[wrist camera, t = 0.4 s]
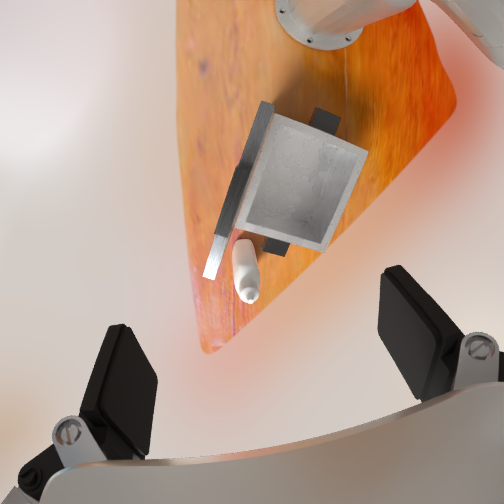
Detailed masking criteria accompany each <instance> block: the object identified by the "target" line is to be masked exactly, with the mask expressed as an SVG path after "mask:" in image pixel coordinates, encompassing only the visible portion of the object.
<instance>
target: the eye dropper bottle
mask: <svg viewBox="0 0 504 504" xmlns="http://www.w3.org/2000/svg"><path fill="white" fill-rule="evenodd" d="M232 259H233V272H234V283H235V288H236V291H237V293H238V294H239V296H240V298H241V300H242V301H244V302H247V303H248V304H252V303H253V302H254V301H255V300H257V299H258V297H259V286H260V273H259V268H258V263H257V258H256V254H255V249H254V246H253V243H252V241H251V240H249V239H240V240H237V241H236V242H235V244H234V247H233V253H232Z"/></svg>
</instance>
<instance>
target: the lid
mask: <svg viewBox="0 0 504 504" xmlns="http://www.w3.org/2000/svg"><path fill="white" fill-rule="evenodd" d="M274 113H275V105H273V104H270V103H267V102H264V101H261V103H260V106H259V109H258V112H257V114H256V117H255V120H254V123H253V126H252V128H251V131H250V134H249V137H248V140H247V142H246V145H245V148H244V151H243V154H242V157H241V160H240V163H239V164H238V165H237V166H236V168H235V171H234V174H233V177H232V180H231V183H230V186H229V189H228V192H227V195H226V198H225V201H224V204H223V208H222V211H221V214H220V217H219V220H218V223H217V226H216V229H215V232H214V234H216V235H215V238H214V241H213V245H212V248H211V251H210V254H209V257H208V261H207V264H206V267H205V270H204V274H203V276H204V277H207V278H210V279H212V280H214V279H215V276H216V274H217V271H218V268H219V266H220V263H221V260H222V257H223V255H224V252H225V249H226V247H227V244H228V241H229V239H230V236H231V234H232V231H233V228H234V225H235V222H236V220H237V217H238V214H239V211H240V208H241V205H242V202H243V199H244V196H245V194H246V191H247V188H248V185H249V182H250V179H251V177H252V174H253V171H254V168H255V165H256V163H257V160H258V157H259V154H260V151H261V149H262V146H263V143H264V140H265V138H266V135H267V132H268V129H269V127H270V124H271V121H272V119H273V116H274Z"/></svg>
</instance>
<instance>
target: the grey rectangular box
mask: <svg viewBox="0 0 504 504" xmlns="http://www.w3.org/2000/svg"><path fill="white" fill-rule="evenodd" d="M340 120H341V118H340V117H338V116H336V115H333V114H331V113H329V112H326V111H324V110H322V109H319V108H315V110H314V112H313V115H312V117H311V120H310V123H309V125H306V124H303V123H300V122H298V121H295V120H292V119H290V118H287V117H284V116H282V115H279V114H276V113H274V116H273V119H272V121H271V124H270V127H269V129H268V132H267V135H266V138H265V140H264V143H263V146H262V149H261V151H260V154H259V157H258V160H257V163H256V165H255V168H254V171H253V174H252V177H251V179H250V182H249V185H248V188H247V191H246V194H245V196H244V199H243V202H242V205H241V208H240V211H239V214H238V217H237V220H236V222H235V225H234V226H235V228H239V229H242V230H246V231H250V232H253V233H257V234H260V235H264V236H266V237H265V239H264V242H263V244H262V250H263V251H265V252H268V253H272V254H276V255H280V256H283V257H285V254H286V252H287V250H288V247H289V245H290V243H292V244H296V245H299V246H303V247H306V248H309V249H313V250H316V251H320V252H323V253H324V252H325V251H326V248H327V246H328V244H329V242H330V240H331V238H332V235H333V233H334V231H335V229H336V227H337V225H338V222H339V220H340V218H341V216H342V213H343V211H344V209H345V207H346V204H347V202H348V200H349V198H350V195H351V193H352V191H353V188H354V186H355V184H356V181H357V179H358V177H359V174H360V172H361V169H362V167H363V165H364V162H365V160H366V157H367V155H368V151H366V150H364V149H362V148H360V147H358V146H355V145H353V144H351V143H349V142H346V141H344V140H342V139H340V138H337V137H335V136H334V135H335V132H336V130H337V127H338V125H339V122H340Z"/></svg>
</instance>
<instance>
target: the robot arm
mask: <svg viewBox="0 0 504 504" xmlns="http://www.w3.org/2000/svg"><path fill="white" fill-rule="evenodd" d="M416 1H417V0H275V13H276V16H277V19H278V21H279V23H280V25H281V26H282V28H283V29H284V30H285V32H286V33H287V34H288V35H289V36H291V37H292V38H293V39H294V40H296V41H297V42H299V43H300V44H303V45H305V46H307V47H309V48H313V49H317V50H325V51H327V50H336V49H341V48H343V47H346V46H348V45H350V44H352V43H353V42H354V41H355V40H356V39H357V38H358V37H359V36H360V34H361V33H362V31H363V28H364V27H365V26H367V25H369V24H372V23H374V22H377V21H379V20H382V19H384V18H387V17H390V16H392V15H395V14H397V13H400V12H402V11H404V10H406V9H408V8H410V7H411V6H412V5H413V4H414V3H415V2H416ZM431 1H432V2H434V3H436V4H437V5H438V6H439V7H440V8H441V9H442V10H443V11H444V12H445V13H446V14H447V15H448V16H449V17H450V18H451V19H452V20H453V21H454V22H455V23H456V24H457V25H458V26H459V27H460V28H461V29H462V31H463V32H464V33H465V34H466V35H467V36H468V37H469V38H470V40H471V41H472V42H473V43H474V44H475V45H476V46H477V47H478V48H479V49H480V50H481V52H482V53H483V54H484V55H485V56H486V57H487V58H488V59H489V60H490V61H492V62H493V63H494V64H495V65H497V66H499V67H500V68H502V69H504V0H431ZM280 11H283V13H280ZM346 38H347V39H348V41H346ZM307 40H309V41H310V43H308V42H307ZM378 333H379V336H380V338H381V340H382V341H383V343H384V345H385V346H386V348H387V350H388V351H389V353H390V355H391V356H392V358H393V360H394V361H395V363H396V365H397V367H398V369H399V370H400V372H401V374H402V375H403V377H404V379H405V381H406V383H407V384H408V386H409V388H410V390H411V391H412V393H413V395H414V397H415V398H416V399H417V400H418V399H420V400H421V402H422V403H420V404H418V405H415V406H413V407H410V408H407V409H405V410H402V411H399V412H397V413H394V414H391V415H388V416H385V417H382V418H380V419H377V420H374V421H371V422H368V423H365V424H361V425H359V426H355V427H352V428H348V429H345V430H342V431H338V432H334V433H331V434H327V435H323V436H319V437H315V438H311V439H307V440H302V441H298V442H293V443H289V444H284V445H279V446H274V447H269V448H263V449H257V450H250V451H244V452H237V453H230V454H221V455H212V456H202V457H189V458H173V459H151V460H150V459H149V460H145V455H148V453H149V447H150V438H151V430H152V421H153V414H154V406H155V399H156V391H157V384H158V380H157V375H156V373H155V371H154V370H153V368H152V366H151V364H150V363H149V361H148V359H147V357H146V356H145V354H144V352H143V350H142V348H141V346H140V344H139V343H138V341H137V339H136V337H135V335H134V333H133V331H132V329H131V328H130V327H127V326H126V325H125V324H118V325H112V326H109V328H108V330H107V333H106V336H105V338H104V340H103V343H102V346H101V348H100V351H99V354H98V357H97V359H96V362H95V365H94V368H93V371H92V374H91V376H90V379H89V382H88V385H87V388H86V391H85V394H84V398H83V401H82V404H81V407H80V413H79V416H67V417H65V418H63V419H61V420H60V421H59V422H58V423H57V425H56V426H55V427H54V430H53V433H52V439H53V443H54V444H52V445H51V446H50V447H48V448H47V449H46V450H44V451H43V452H42V453H40V454H39V455H38V456H36V457H35V458H33V459H32V460H31V461H29V462H28V463H27V464H25V465H24V466H23V467H22V468H21V470H20V472H19V475H18V484H19V487H18V488H17V487H15V486H14V487H13V489H12V490H11V491H10V493H9V494H8V495H7V497H6V498H5V499H4V500H3V502H2V503H1V504H504V352H500V351H499V346H498V344H497V342H496V340H495V339H494V338H493V337H492V336H489V335H488V334H485V333H482V332H473V333H470V334H468V335H466V336H465V335H464V334H463V333H462V332H461V330H460V329H459V328H458V327H457V326H456V325H455V323H454V322H453V321H452V320H451V319H450V318H449V316H448V315H447V314H446V313H445V312H444V311H443V310H442V308H441V307H440V306H439V305H438V304H437V303H436V302H435V301H434V299H433V298H432V297H431V296H430V295H429V294H427V293H426V291H425V290H424V289H423V288H422V287H421V286H420V285H419V284H418V283H417V282H416V281H415V280H414V279H413V277H412V276H411V275H410V274H409V273H408V272H407V271H406V270H405V269H404V268H403V267H402V266H401V265H396V266H392V267H389V268H386V269H385V271H384V273H382V274H381V281H380V302H379V316H378Z"/></svg>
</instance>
